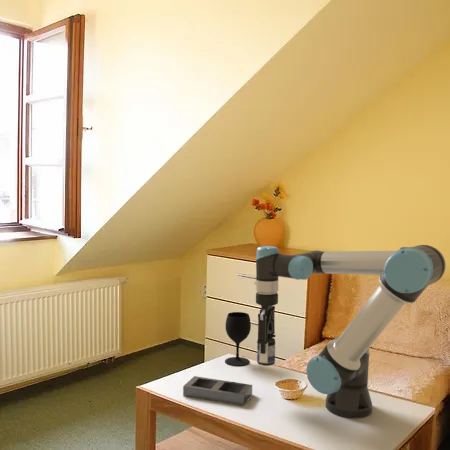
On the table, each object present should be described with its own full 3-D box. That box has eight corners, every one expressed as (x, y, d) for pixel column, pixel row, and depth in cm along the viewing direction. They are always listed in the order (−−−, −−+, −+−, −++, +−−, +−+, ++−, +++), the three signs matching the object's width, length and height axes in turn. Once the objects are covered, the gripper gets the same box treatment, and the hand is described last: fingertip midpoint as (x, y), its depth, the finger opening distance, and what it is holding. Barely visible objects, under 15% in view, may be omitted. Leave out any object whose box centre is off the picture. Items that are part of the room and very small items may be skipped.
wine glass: (235, 368, 209) (237, 319, 208) (219, 361, 217) (220, 313, 216) (255, 363, 216) (256, 315, 214) (238, 356, 224) (239, 310, 222)
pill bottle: (254, 361, 181) (254, 329, 180) (270, 359, 182) (271, 328, 182) (260, 367, 175) (261, 334, 174) (277, 365, 177) (278, 333, 176)
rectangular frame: (252, 394, 184) (252, 384, 184) (243, 405, 174) (243, 395, 174) (194, 385, 191) (194, 376, 191) (183, 395, 182) (183, 386, 181)
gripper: (263, 286, 187) (262, 349, 189) (248, 296, 169) (247, 366, 171) (284, 287, 184) (283, 352, 186) (270, 298, 166) (269, 369, 168)
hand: (266, 359), depth 178 cm, fingers closed on pill bottle, 6 cm apart
